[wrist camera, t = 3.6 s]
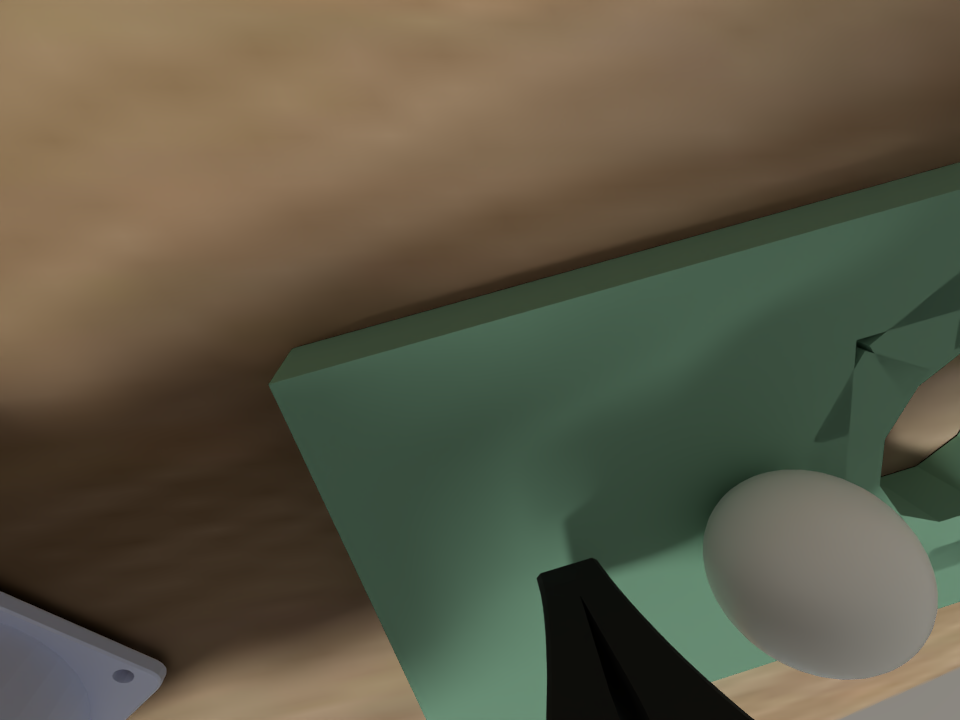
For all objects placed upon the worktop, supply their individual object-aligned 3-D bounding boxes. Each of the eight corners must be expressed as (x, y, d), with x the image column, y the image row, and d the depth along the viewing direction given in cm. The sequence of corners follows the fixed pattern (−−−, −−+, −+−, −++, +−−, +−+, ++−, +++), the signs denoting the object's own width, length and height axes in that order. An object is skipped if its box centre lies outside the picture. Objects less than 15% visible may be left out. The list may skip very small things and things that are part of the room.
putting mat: (443, 697, 16) (448, 766, 14) (291, 348, 11) (268, 384, 9) (1040, 509, 17) (1118, 550, 15) (1156, 107, 12) (1297, 94, 10)
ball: (638, 514, 11) (748, 675, 8) (771, 404, 11) (960, 522, 7) (721, 590, 13) (847, 755, 9) (843, 496, 12) (1031, 635, 9)
